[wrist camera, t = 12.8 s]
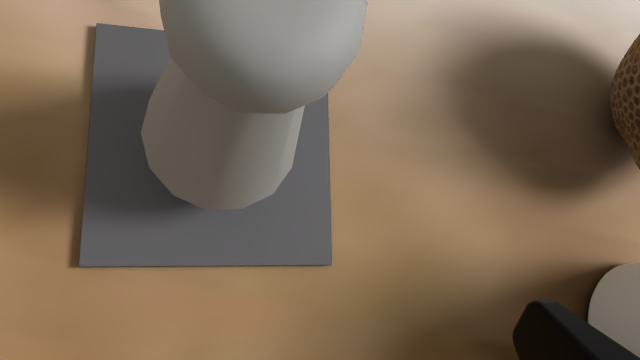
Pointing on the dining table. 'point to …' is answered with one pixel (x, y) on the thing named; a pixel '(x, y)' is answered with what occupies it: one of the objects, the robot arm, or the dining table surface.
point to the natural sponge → (628, 99)
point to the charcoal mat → (172, 212)
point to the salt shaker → (242, 91)
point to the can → (618, 306)
